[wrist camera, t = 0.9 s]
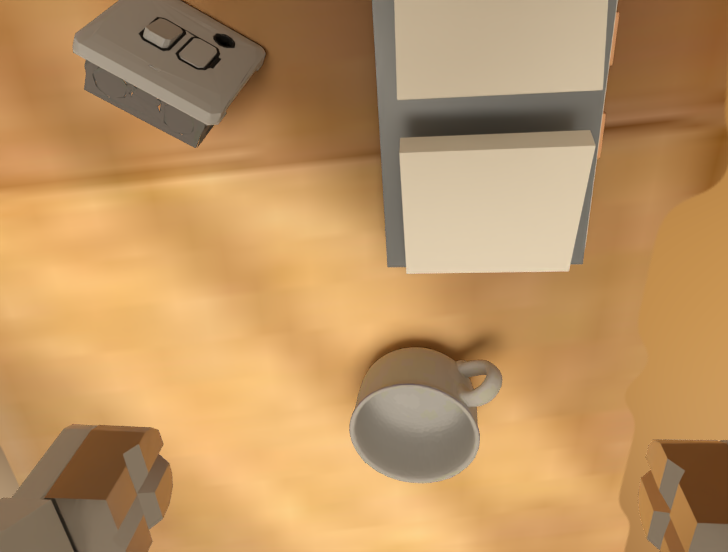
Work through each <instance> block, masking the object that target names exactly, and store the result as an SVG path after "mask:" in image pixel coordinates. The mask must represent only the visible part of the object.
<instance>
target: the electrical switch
mask: <svg viewBox="0 0 728 552" xmlns="http://www.w3.org/2000/svg"><path fill="white" fill-rule="evenodd" d="M73 53H75V54H77V55H79V56H80V57H82V58H84V59H86V62H85V70H86V79H85V87H84V90H86V91H88V92H90V93H92V94H94V95H95V96H97V97H99V98H101V99H103V100H105V101H107V102H109V103H111V104H113V105H114V106H116V107H118V108H120V109H122V110H124V111H126V112H128V113H130V114H132V115H133V116H135V117H137V118H139V119H141V120H143V121H145V122H147V123H149V124H151V125H152V126H154V127H156V128H158V129H160V130H162V131H164V132H166V133H168V134H170V135H172V136H173V137H175V138H177V139H179V140H181V141H183V142H185V143H187V144H189V145H191V146H192V147H194V148H196V147H197V144H198V141H199V144H198V146H199V145H200V143H201V142H202V141H203V139H204V138H205V137H206V135H207V134H208V133H209V131H210V130H211V129H212V127H213V126H214V125H217V124H219V123H220V122H221V120H222V119H223V117H224V116H225V115H226V110H227V108H228V107H229V105H230V104H231V103H232V101H233V100H234V99H235V97H236V96H237V95H238V93H239V92H240V91H241V89H242V88H243V87H244V85H245V84H246V83H247V81H248V80H249V79H250V77H251V76H252V74H253V73H254V72H255V71H258V70H259V69H260V67H261V66H262V65H263V61H264V58H265V55H266V54H265V51H264V49H263V48H262V47H261V46H260V45H258V44H256V43H254V42H252V41H251V40H249V39H247V38H245V37H244V36H242V35H240V34H238V33H237V32H235V31H233V30H231V29H230V28H228V27H226V26H224V25H223V24H221V23H219V22H217V21H216V20H214V19H212V18H210V17H209V16H207V15H205V14H203V13H202V12H200V11H198V10H196V9H195V8H193V7H191V6H189V5H188V4H186V3H184V2H182V1H181V0H119V1H118V2H116V3H115V4H114V5H112V6H111V7H110V8H108V9H107V10H106V11H104V12H103V13H102V14H100V15H99V16H98V17H97V18H95V19H94V20H93V21H91V22H90V23H89V24H87V25H86V26H85V27H83V28H82V29H81V30H79V31H78V32H77V33H76V34H75V37H74V42H73ZM95 80H96V82H95ZM124 81H125V82H126V83H125V82H124ZM133 85H134V86H133ZM135 86H136V87H135ZM132 92H133V94H132V96H131V93H132ZM125 95H126V96H125ZM108 96H109V97H110V98H109V97H108ZM124 96H125V97H124ZM157 98H158V99H157ZM159 99H160V100H159ZM160 104H161V106H160V111H159V109H158V106H159V105H160ZM181 134H183V135H181ZM200 135H201V136H200ZM199 138H200V140H199ZM197 148H198V147H197Z"/></svg>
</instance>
